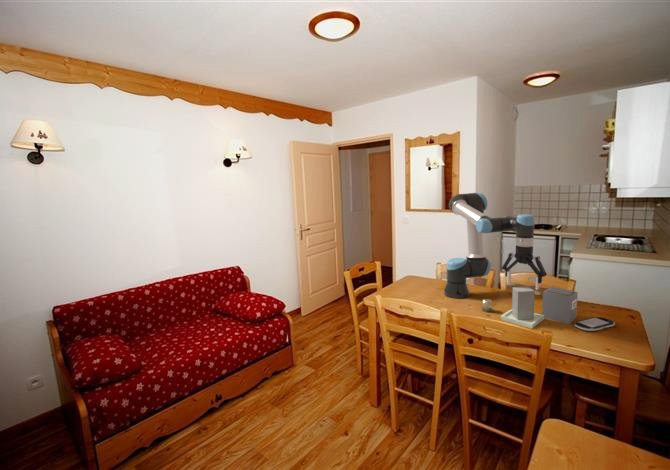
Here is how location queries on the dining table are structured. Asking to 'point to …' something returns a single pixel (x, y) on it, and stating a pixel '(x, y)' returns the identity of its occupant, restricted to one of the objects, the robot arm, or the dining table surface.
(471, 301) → the dining table surface
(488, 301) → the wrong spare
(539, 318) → the tray
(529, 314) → the skincare box
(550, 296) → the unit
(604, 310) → the dining table surface
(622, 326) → the dining table surface
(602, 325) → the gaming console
